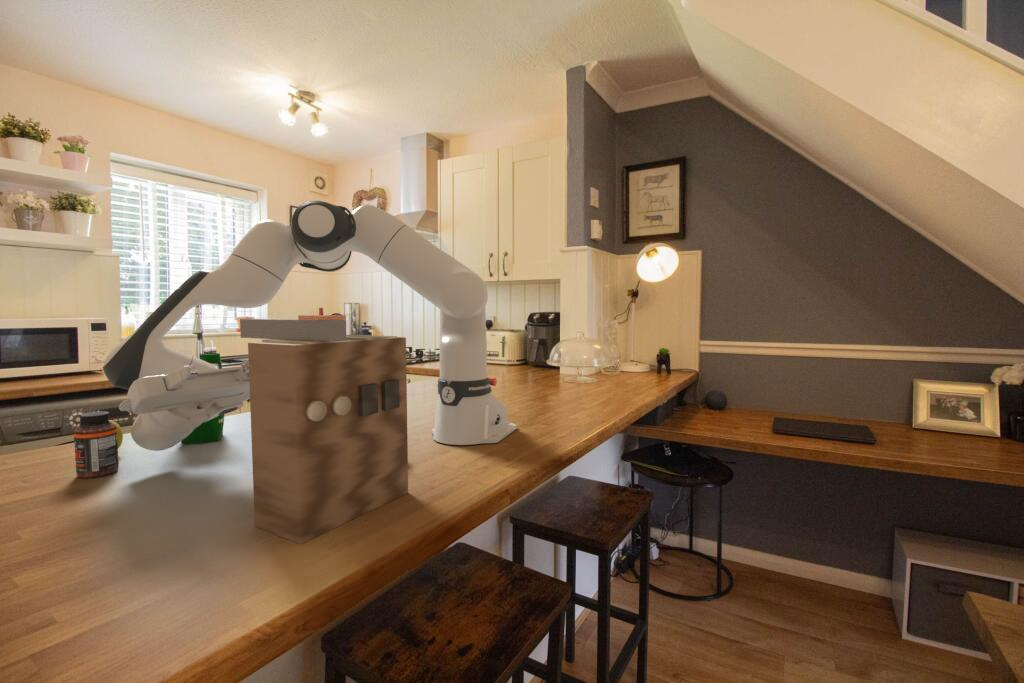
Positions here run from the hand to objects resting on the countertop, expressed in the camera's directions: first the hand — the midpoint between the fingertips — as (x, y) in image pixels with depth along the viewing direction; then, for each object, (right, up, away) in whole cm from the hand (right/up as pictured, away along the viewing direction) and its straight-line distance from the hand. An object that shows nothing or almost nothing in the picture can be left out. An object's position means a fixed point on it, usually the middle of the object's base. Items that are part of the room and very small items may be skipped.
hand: (223, 366), depth 77 cm
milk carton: (-25, -19, +33) cm, 46 cm away
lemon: (-37, -20, +20) cm, 46 cm away
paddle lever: (+15, +4, -9) cm, 19 cm away
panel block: (+21, -21, -5) cm, 30 cm away
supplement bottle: (-30, -21, +10) cm, 38 cm away
